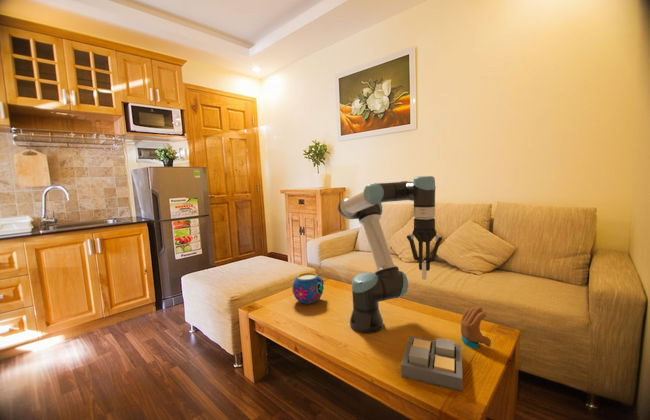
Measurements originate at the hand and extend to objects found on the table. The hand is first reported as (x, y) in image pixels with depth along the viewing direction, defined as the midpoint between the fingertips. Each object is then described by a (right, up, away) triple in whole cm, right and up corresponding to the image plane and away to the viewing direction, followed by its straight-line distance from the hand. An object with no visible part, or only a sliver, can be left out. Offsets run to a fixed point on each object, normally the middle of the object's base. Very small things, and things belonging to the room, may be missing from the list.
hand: (424, 278), depth 106 cm
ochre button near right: (+2, -29, -14) cm, 32 cm away
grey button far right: (+5, -26, -7) cm, 27 cm away
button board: (0, -29, -8) cm, 30 cm away
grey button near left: (-6, -27, -11) cm, 29 cm away
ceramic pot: (-47, -26, +51) cm, 74 cm away
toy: (+21, -27, +3) cm, 34 cm away
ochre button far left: (-2, -28, -3) cm, 28 cm away
